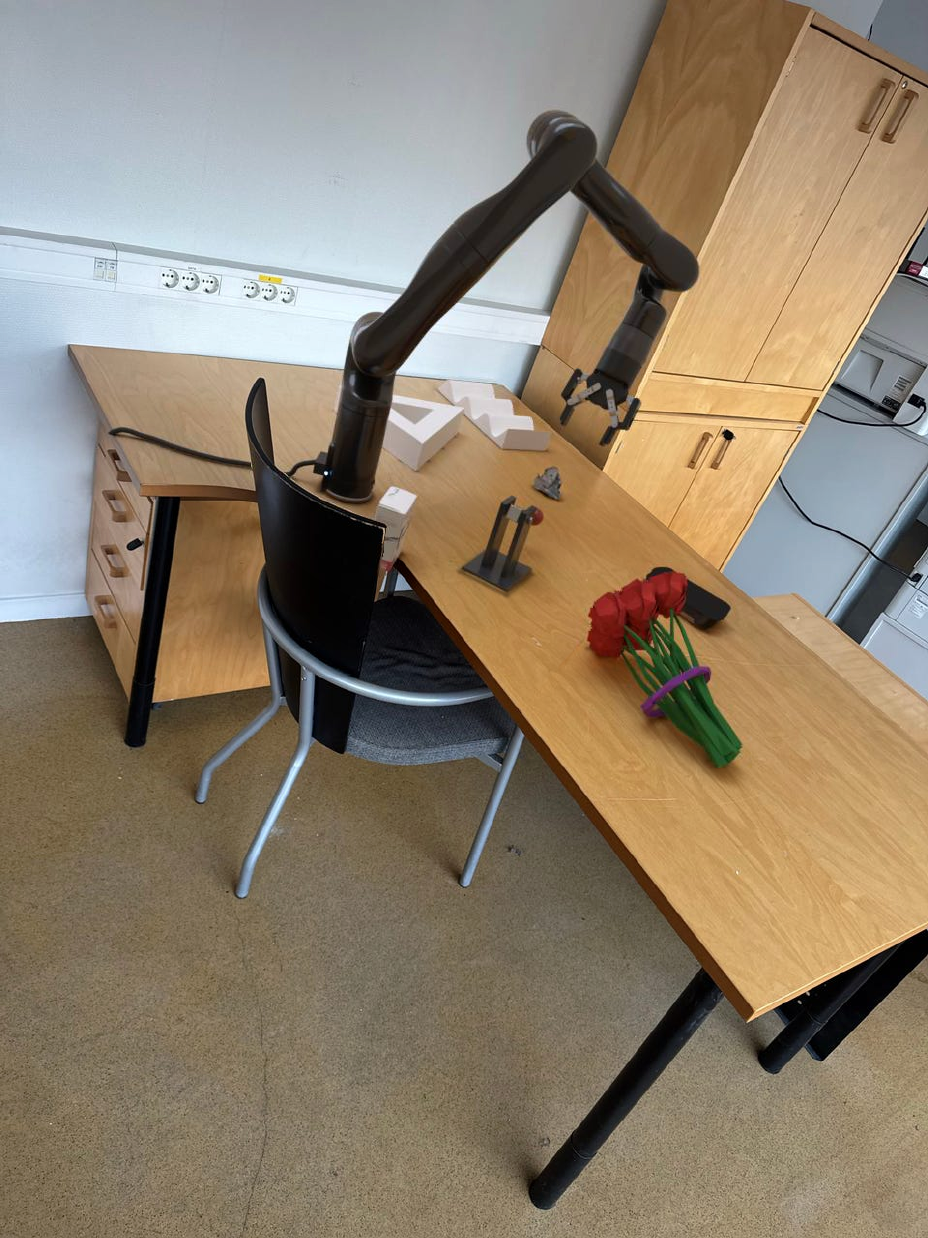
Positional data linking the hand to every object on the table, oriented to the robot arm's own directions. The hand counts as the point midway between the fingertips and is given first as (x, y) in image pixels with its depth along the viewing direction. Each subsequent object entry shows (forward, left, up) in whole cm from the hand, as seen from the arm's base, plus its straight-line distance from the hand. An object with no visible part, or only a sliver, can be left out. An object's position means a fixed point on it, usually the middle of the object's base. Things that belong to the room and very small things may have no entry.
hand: (582, 435), depth 159 cm
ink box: (-30, -28, -21) cm, 47 cm away
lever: (-8, -18, -13) cm, 23 cm away
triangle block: (-30, +32, -21) cm, 49 cm away
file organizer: (-14, +57, -21) cm, 62 cm away
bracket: (-10, -22, -21) cm, 32 cm away
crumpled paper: (0, +20, -21) cm, 29 cm away
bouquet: (+16, -50, -21) cm, 57 cm away
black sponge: (+26, -16, -21) cm, 37 cm away
